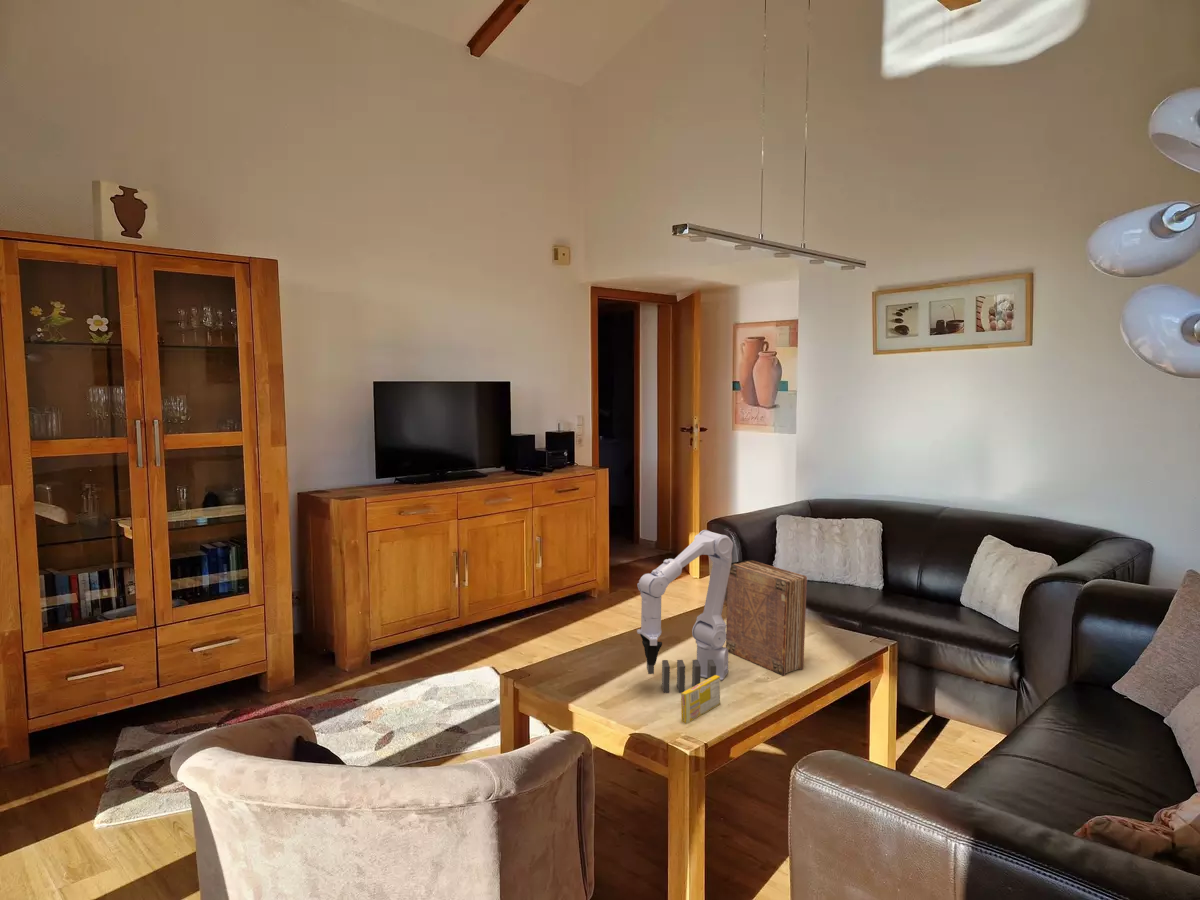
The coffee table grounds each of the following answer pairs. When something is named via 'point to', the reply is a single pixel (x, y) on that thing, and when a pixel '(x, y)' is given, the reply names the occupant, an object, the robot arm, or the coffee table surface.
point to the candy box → (700, 699)
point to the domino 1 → (650, 669)
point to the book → (766, 616)
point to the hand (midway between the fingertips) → (650, 660)
